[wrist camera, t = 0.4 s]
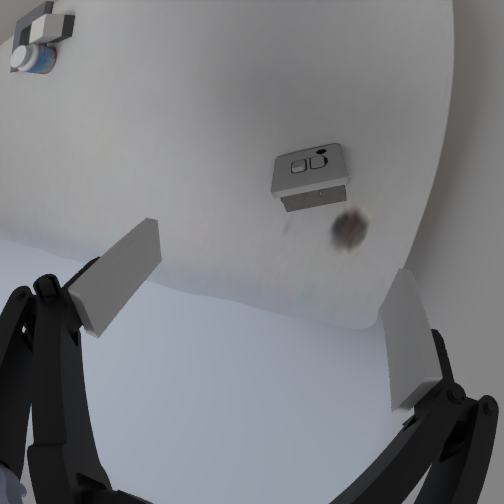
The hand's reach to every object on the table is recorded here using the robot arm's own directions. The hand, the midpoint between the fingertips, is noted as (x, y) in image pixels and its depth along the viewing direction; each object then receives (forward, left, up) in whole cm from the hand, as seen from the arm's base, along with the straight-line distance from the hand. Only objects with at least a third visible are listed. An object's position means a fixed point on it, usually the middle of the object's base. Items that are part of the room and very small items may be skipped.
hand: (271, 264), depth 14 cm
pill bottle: (-19, -54, -28) cm, 64 cm away
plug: (-25, -49, -27) cm, 61 cm away
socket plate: (-28, -63, -27) cm, 74 cm away
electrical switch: (+1, +1, -28) cm, 28 cm away
